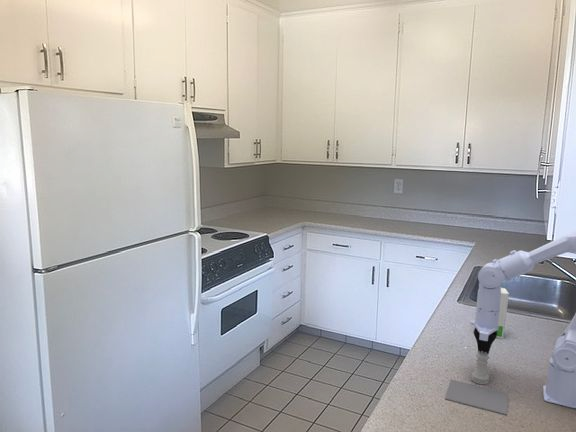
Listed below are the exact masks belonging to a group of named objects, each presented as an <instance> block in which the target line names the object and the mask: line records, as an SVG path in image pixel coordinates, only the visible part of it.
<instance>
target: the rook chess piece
mask: <svg viewBox="0 0 576 432" xmlns="http://www.w3.org/2000/svg"><path fill="white" fill-rule="evenodd" d="M475 357H476V360H475V362H476V366H475V369H474V370H473V372H472V373H471V381H472V382H473V383H474V384H476V385H477V384H478V385H479V386H480V385H483V386H484V385H485V386H486V385H488V384H489V382H490V377H489V373H488V371H487V370H488V369H487V365H488V364H489V363H488V360H489V359H490V357H489V354H488V353H487V352H484V353H483V351H481V353H480V351H478V350H477V353H476V354H475Z"/></svg>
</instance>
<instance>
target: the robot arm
mask: <svg viewBox="0 0 576 432" xmlns="http://www.w3.org/2000/svg"><path fill="white" fill-rule="evenodd" d="M566 253H570V254H575V255H576V231H572V232H570V233H567V234H565V235H563V236H561V237H560V238H556V239H554V240H552V241H550V242H548V243H546V244H544V245H541V246H539V247H538V248H536V249H533V250H531V251H525V250H518V251H517V250H515V249H514V250H511V251H510V253H509V255H506V256H504V257H502V258H499V259H497V258H495V259H492V262H488V263H485V264H484V265H483V266H482V267H481V269H479V271H478V275H477V279H478V290H477V296H476V307H475V308H476V309H475V310H476V311H475V316H474V317H475V318H474V319H470V321H469V324H470V326H471V325H472V326H474V329H473V336H474V337H475V341H476V344H477V352H478V351H480V353H481V351H483V353H484V352H487V353H488V355H489V354H490V350H491V348H492V345H493V343H494V341H495V340H496V339H497V338H496V337H497V330H498V329H499V325H498V321H499V312H500V302H501V288H502V284H503V281H507V282H508V281H510V280H513V279H515V278H518V277H520V276H523V275H525V274H528V273H531V272H532V271H533V269H534V267H535V265H536V264H539V263H542V262H543V261H547V260H550V259H553V258H555V257H558V256H560V255H563V254H566ZM542 389H543V390H542V393H543V400H544V401H545V402H547V403H552V404H555V405H560V406H564V407H568V408H572V409H576V312H575V313H574V316H573V317H572V319H571V321H570V323H569V324H568V325H567V326H566V328H565V330H564V331H562V333H561V334H559V335H557V336H556V337H555V339H554V341H553V351H552V354H551V357H550V358H549V362H548V369H547V378H546V384H545V385H543V386H542Z"/></svg>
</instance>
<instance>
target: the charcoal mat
mask: <svg viewBox="0 0 576 432" xmlns="http://www.w3.org/2000/svg"><path fill="white" fill-rule="evenodd" d="M444 400H445V401H450V402H454V403H458V404H462V405H465V406H468V407H472V408H477V409H481V410H484V411H489V412H492V413H496V414H500V415H504V416H508V406H509V405H508V404H509V392H506V391H501V390H498V389H493V388H489V387H485V386H480V385H477V384H472V383H468V382H463V381H461V380H456V379H450V381H449V383H448V387H447V391H446V393H445V396H444Z"/></svg>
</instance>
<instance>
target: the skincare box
mask: <svg viewBox="0 0 576 432" xmlns="http://www.w3.org/2000/svg"><path fill="white" fill-rule="evenodd" d="M509 296H510V292H508V290H507V289H506V288H505V287H501V302H500V312H499V321H498V325H499V329H498V330H497V337H496V339H500V340H501V339H502V340H503V339H504V335H505V329H506V327H505V326H506V321H507V311H508V305H509V299H510V298H509Z"/></svg>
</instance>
